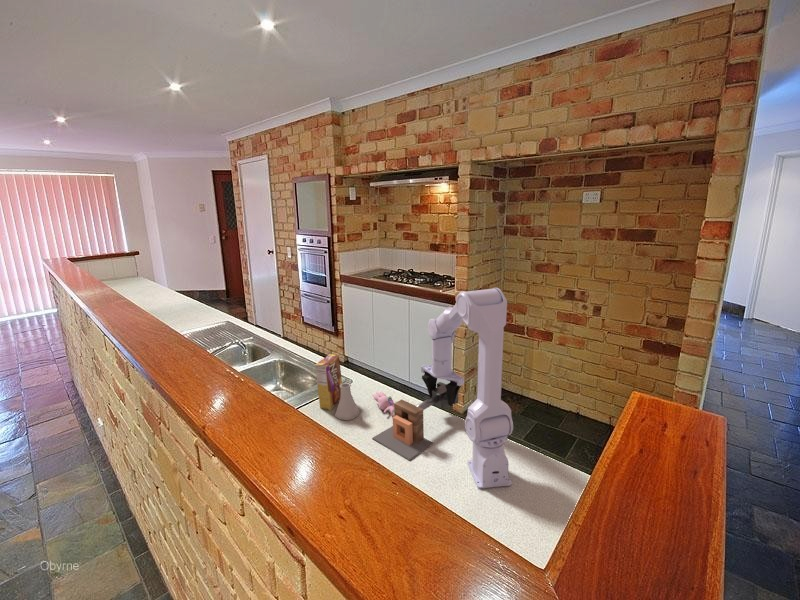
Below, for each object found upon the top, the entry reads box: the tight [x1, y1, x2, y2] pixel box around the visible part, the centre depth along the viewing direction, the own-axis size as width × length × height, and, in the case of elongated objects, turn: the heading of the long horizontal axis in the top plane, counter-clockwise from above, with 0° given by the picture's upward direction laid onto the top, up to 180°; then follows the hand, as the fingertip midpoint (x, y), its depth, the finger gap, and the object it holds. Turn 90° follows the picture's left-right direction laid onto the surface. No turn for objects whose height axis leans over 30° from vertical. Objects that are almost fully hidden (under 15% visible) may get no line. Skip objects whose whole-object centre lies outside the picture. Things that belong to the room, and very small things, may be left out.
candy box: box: [314, 354, 343, 410], centre depth 127 cm, size 9×4×15 cm, turn 160°
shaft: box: [406, 381, 459, 417], centre depth 113 cm, size 18×7×4 cm, turn 135°
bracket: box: [394, 399, 425, 444], centre depth 107 cm, size 3×8×9 cm, turn 46°
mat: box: [371, 425, 434, 461], centre depth 107 cm, size 10×14×1 cm
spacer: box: [392, 415, 413, 445], centre depth 106 cm, size 2×6×6 cm, turn 46°
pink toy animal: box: [371, 391, 395, 419], centre depth 122 cm, size 6×6×15 cm
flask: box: [334, 382, 360, 421], centre depth 120 cm, size 7×7×10 cm
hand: (441, 400), depth 117 cm, fingers open, 7 cm apart
